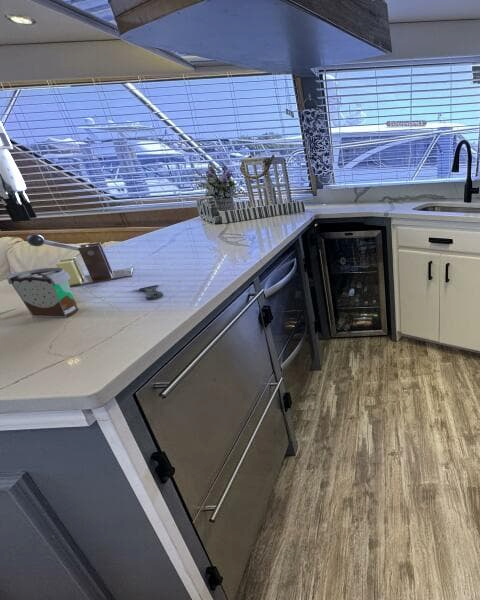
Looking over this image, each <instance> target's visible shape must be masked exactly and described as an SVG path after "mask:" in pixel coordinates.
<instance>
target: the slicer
mask: <svg viewBox="0 0 480 600" xmlns="http://www.w3.org/2000/svg"><path fill="white" fill-rule="evenodd" d="M78 250H79V251H78V252H79V254H80V256H81V258H82V261H83V263H84V265H85V267H86V269H87V272H88V274H87V275H84V276H85V277H84V279H82V282H81V283H80V284H74V285H69V286H70V288H71V289H72V288H75V287H81V286H82V287H83V286H87V285H88V286H89V285H93V284H98V283H104V282H110V281H115V280H120V279H121V280H122V279H125V278H131V277H133V273H134V268H133V267H129V268H123V269H117V270H113V269H112V267H111V265H110V262H109V260H108V257H107V255H106V253H105V250H104V247H103V246H102V243H101V242H94V243H85V244H80V246H78Z"/></svg>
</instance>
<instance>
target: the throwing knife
mask: <svg viewBox="0 0 480 600" xmlns="http://www.w3.org/2000/svg"><path fill="white" fill-rule="evenodd" d="M158 287H159V285H158V284H155V285H150V286H144V287H140V288H138V291H141V292H145V293H146V296H145V298H146V300H156V299H159V298H162V297H163V296H164V294H163V292H162V291H158V290H157V288H158Z"/></svg>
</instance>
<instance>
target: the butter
mask: <svg viewBox="0 0 480 600" xmlns="http://www.w3.org/2000/svg"><path fill="white" fill-rule="evenodd" d="M55 265H56V268H63V270H64V271H66V272H67V273H68V274H69V276H70V279H68V283H69V285H74V284H80V283H81V282H82V279H84V277H85V276H86V275H85V273H84V271H83V269H82V267H81V265H80V263H79V260H78V258H77V256H70V257H63V258H60V260H59V261H58V262H57V263H56V264H55Z"/></svg>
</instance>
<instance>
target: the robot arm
mask: <svg viewBox="0 0 480 600" xmlns="http://www.w3.org/2000/svg"><path fill="white" fill-rule="evenodd" d="M9 150H14V147H13V144H12V143H11V141H10V138H9V136H8V135H7V132H6V130H5V128H4V125H3V124H2V121H1V120H0V200H1V202H2V204H3V207H4V208H5V210H6V212H7V214H8V216H9V218H10V220H11V221H12V222H13V223H17V222H18V223H19V222H28V221H31V219H37V217H38V216H37V214H36V211H35V210H34V207H33V205H32V203H31V202H30V199H29V198H28V196H27V194H26V193H25V191H26V190H27V186H26V183H25V180H24V178H23V175H22V174H21V172H20V169H19V168H18V166H17V164H16V162H15V160H14V158H13V157H12V155H11V153H10V151H9Z"/></svg>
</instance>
